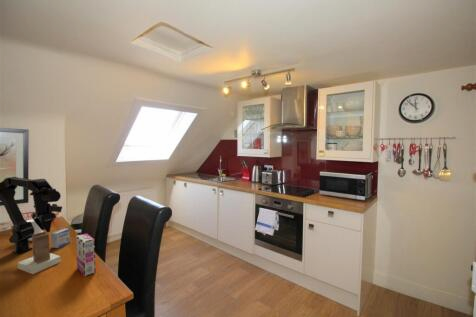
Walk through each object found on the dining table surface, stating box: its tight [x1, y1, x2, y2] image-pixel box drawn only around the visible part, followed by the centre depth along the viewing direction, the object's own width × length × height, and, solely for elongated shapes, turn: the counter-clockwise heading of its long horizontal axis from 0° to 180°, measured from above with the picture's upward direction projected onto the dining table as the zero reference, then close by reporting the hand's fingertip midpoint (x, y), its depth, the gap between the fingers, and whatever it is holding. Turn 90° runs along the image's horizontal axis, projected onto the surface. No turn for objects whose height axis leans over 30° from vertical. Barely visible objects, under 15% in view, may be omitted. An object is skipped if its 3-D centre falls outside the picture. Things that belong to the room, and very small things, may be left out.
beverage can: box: [26, 218, 44, 242], centre depth 147 cm, size 8×8×12 cm
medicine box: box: [50, 228, 71, 249], centre depth 139 cm, size 8×4×9 cm, turn 168°
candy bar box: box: [75, 233, 96, 277], centre depth 112 cm, size 11×5×16 cm, turn 49°
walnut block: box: [31, 231, 51, 264], centre depth 116 cm, size 5×5×13 cm
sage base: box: [17, 252, 62, 275], centre depth 117 cm, size 12×12×3 cm
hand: (45, 231), depth 127 cm, fingers open, 9 cm apart
